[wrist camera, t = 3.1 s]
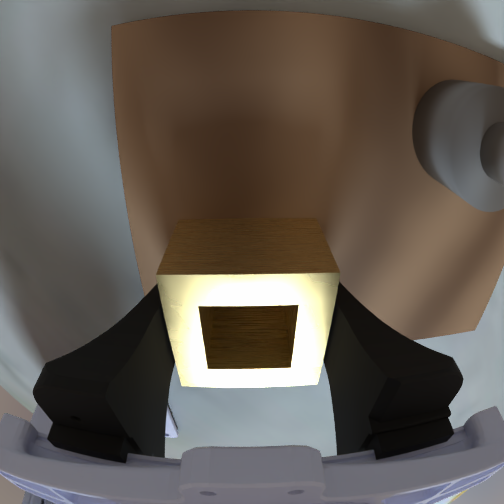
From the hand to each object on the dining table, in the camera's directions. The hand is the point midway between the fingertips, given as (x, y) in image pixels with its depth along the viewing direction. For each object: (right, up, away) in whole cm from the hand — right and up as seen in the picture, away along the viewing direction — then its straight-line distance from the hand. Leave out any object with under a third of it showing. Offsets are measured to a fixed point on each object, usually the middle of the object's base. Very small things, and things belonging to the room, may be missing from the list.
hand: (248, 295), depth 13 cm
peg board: (+5, +4, +1) cm, 6 cm away
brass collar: (0, +1, +1) cm, 1 cm away
